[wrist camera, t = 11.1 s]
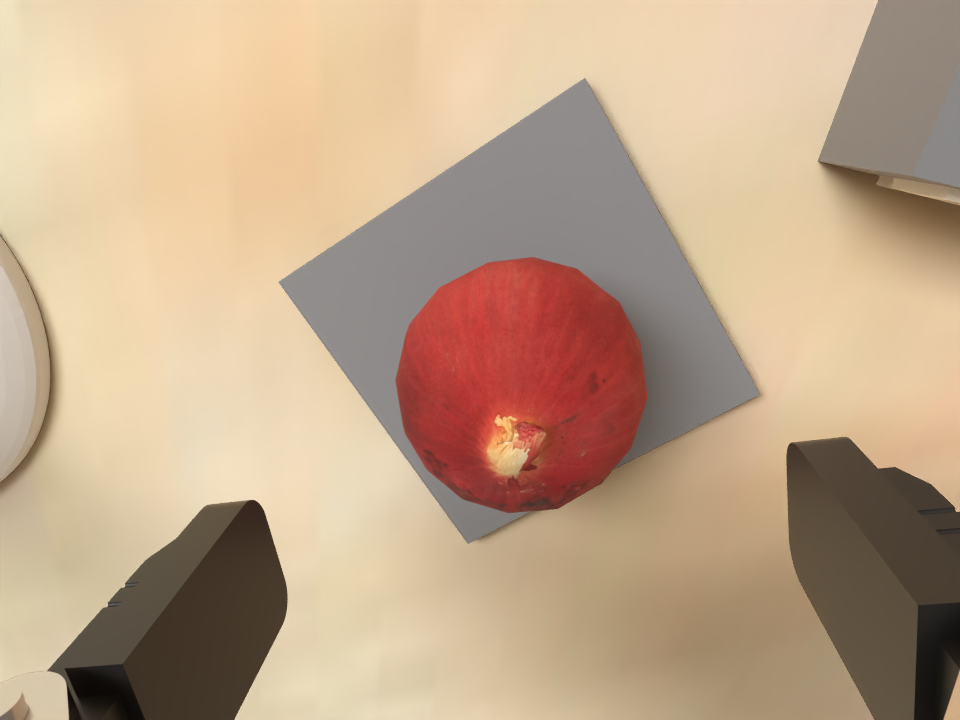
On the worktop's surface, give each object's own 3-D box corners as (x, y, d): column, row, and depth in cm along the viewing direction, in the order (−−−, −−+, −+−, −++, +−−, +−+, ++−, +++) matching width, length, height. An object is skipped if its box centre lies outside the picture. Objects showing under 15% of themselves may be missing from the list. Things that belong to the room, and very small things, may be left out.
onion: (633, 421, 21) (685, 597, 13) (441, 438, 21) (385, 614, 14) (618, 222, 19) (669, 294, 11) (408, 248, 20) (323, 333, 12)
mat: (583, 79, 18) (585, 78, 18) (754, 386, 21) (760, 394, 20) (285, 277, 21) (278, 281, 20) (469, 533, 23) (467, 543, 22)
